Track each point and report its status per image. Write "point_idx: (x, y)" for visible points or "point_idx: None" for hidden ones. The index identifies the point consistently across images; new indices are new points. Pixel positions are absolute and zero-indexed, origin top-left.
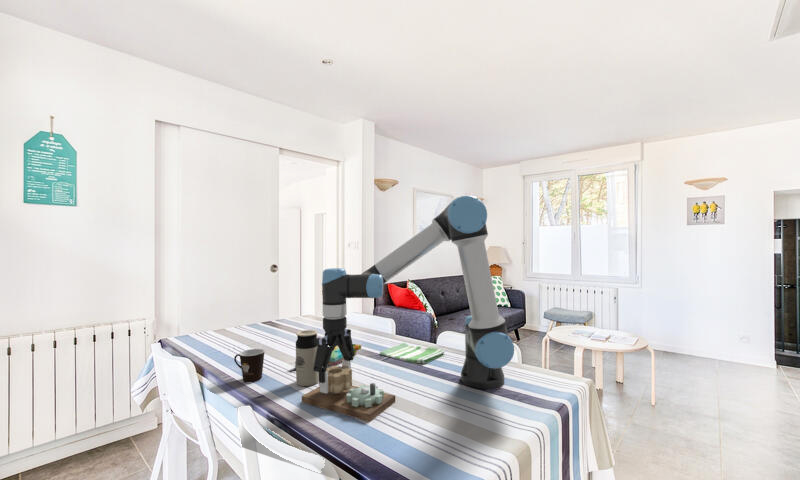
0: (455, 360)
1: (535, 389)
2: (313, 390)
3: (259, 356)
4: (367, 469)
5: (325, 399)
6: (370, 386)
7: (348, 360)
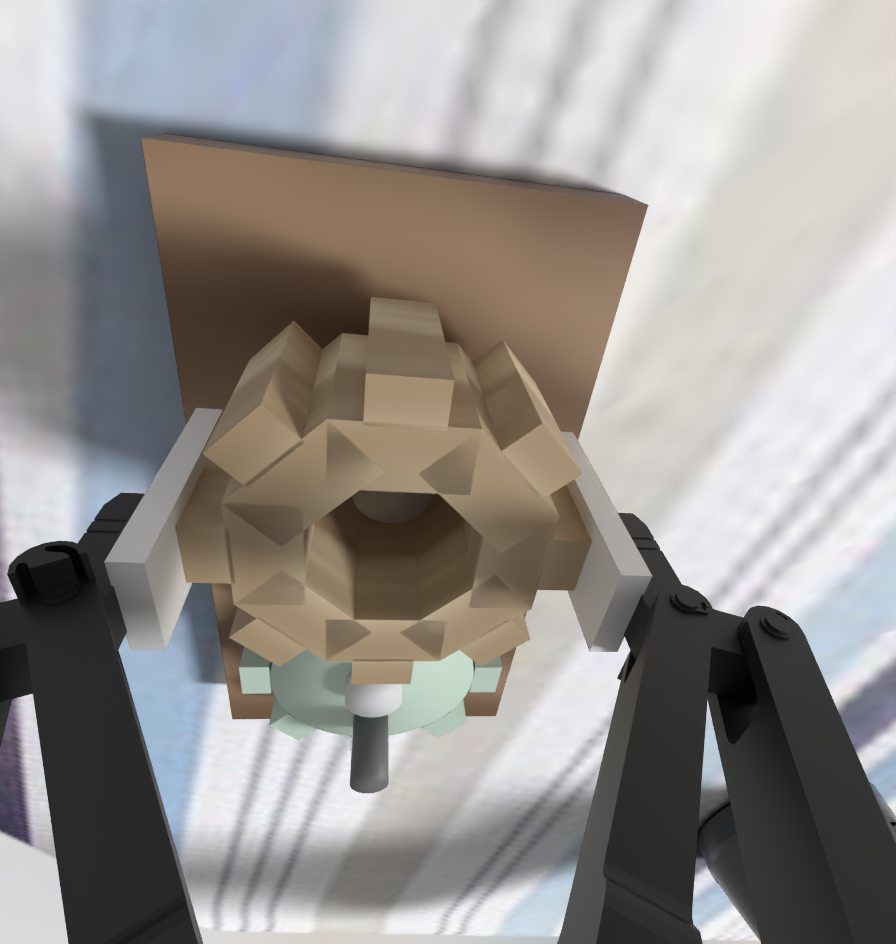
0: None
1: (710, 900)
2: (336, 177)
3: None
4: None
5: None
6: (352, 769)
7: (629, 634)
